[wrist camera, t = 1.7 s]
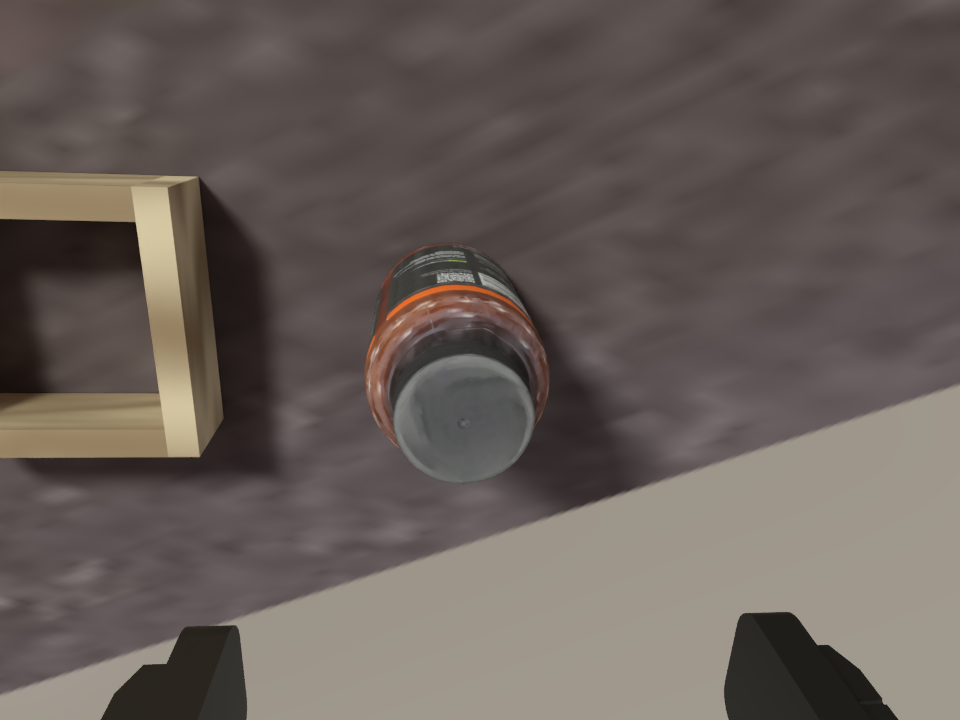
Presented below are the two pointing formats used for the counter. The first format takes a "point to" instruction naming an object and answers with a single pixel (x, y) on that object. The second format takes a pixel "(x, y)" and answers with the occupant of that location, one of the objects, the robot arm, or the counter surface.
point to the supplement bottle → (455, 364)
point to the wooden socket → (172, 314)
